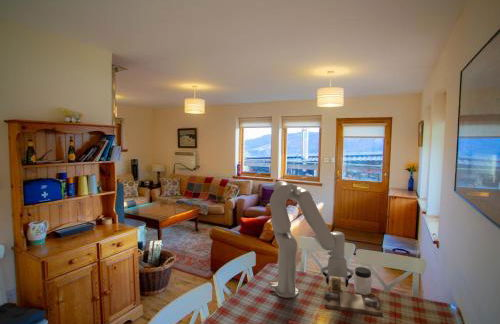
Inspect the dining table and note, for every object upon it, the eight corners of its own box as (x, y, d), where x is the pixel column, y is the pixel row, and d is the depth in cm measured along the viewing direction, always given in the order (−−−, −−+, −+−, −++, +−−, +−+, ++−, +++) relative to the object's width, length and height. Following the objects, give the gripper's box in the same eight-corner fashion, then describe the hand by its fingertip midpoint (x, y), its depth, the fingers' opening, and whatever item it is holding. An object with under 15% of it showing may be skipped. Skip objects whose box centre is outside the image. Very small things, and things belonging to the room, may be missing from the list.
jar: (362, 296, 152) (363, 274, 152) (350, 289, 159) (351, 268, 159) (374, 293, 156) (374, 271, 156) (362, 286, 163) (363, 265, 163)
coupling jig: (324, 307, 142) (324, 298, 141) (324, 293, 155) (324, 285, 155) (381, 315, 135) (382, 306, 135) (376, 300, 149) (376, 292, 148)
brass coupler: (331, 292, 156) (332, 280, 156) (331, 287, 162) (331, 275, 162) (340, 293, 155) (340, 281, 154) (339, 288, 161) (340, 276, 161)
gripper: (320, 256, 156) (320, 286, 157) (354, 258, 152) (354, 290, 153) (321, 251, 163) (320, 280, 164) (353, 253, 159) (353, 283, 160)
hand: (337, 285), depth 158 cm, fingers open, 9 cm apart
